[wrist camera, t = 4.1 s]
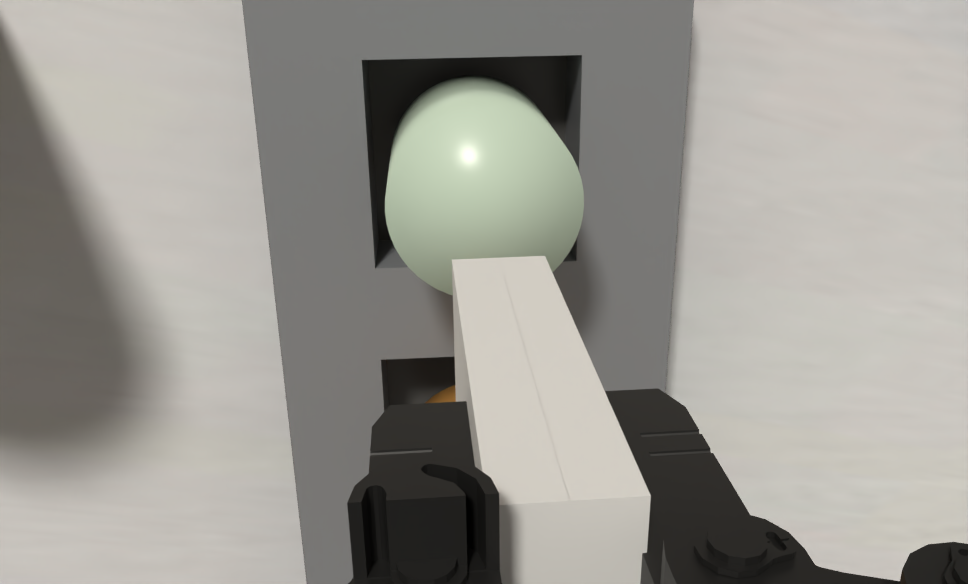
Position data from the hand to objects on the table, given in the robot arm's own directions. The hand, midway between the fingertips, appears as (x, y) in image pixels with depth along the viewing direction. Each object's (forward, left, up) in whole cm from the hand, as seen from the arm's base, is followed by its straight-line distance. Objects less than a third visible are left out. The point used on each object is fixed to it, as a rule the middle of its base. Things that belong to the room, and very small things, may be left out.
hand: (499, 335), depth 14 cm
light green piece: (0, 0, -12) cm, 12 cm away
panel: (0, -9, -14) cm, 17 cm away
